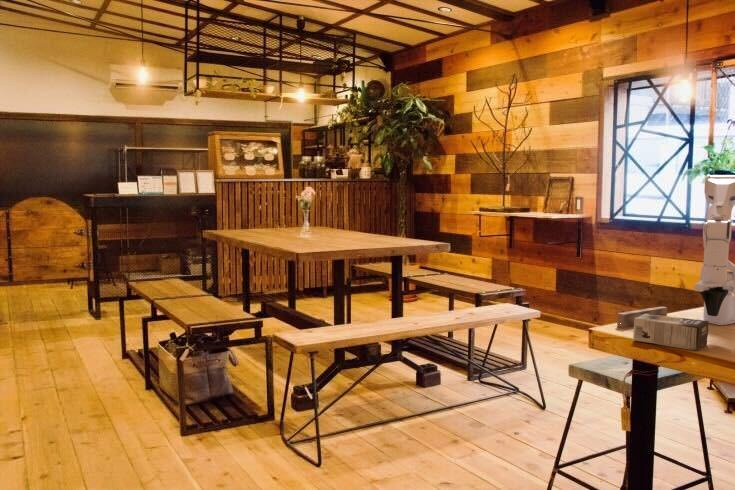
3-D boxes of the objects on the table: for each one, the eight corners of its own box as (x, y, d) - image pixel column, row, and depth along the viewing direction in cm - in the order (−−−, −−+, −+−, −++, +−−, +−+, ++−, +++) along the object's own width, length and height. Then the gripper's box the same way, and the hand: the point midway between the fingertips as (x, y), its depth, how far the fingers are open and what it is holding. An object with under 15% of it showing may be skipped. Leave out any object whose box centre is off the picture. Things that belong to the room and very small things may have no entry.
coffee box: (645, 312, 183) (709, 320, 173) (644, 335, 184) (707, 344, 174) (633, 317, 176) (700, 326, 166) (632, 341, 177) (698, 351, 167)
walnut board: (660, 319, 204) (661, 306, 204) (666, 320, 202) (667, 307, 202) (617, 326, 194) (617, 313, 194) (622, 328, 192) (623, 314, 192)
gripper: (713, 269, 171) (710, 321, 172) (745, 265, 178) (742, 315, 179) (688, 265, 177) (685, 316, 178) (720, 262, 184) (717, 310, 185)
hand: (712, 315), depth 179 cm, fingers closed
